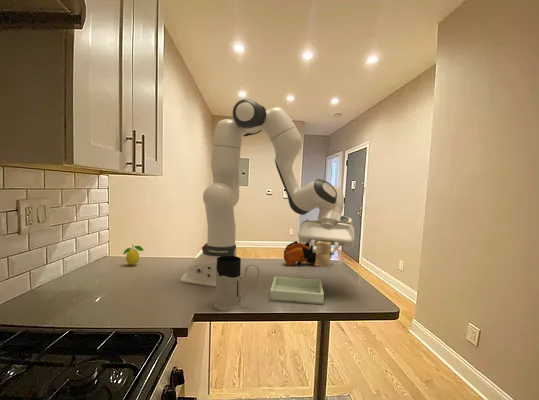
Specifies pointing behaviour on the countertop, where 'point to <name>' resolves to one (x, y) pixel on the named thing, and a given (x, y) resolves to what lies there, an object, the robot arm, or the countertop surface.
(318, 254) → the block
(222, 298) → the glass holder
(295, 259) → the tool
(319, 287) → the tray
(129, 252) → the lemon
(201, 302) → the countertop surface
